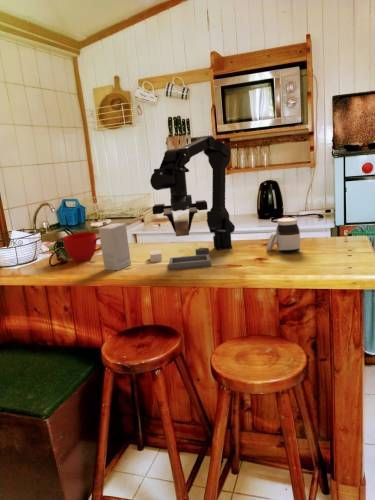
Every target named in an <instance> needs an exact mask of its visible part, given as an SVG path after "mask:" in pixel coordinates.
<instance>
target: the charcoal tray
mask: <svg viewBox="0 0 375 500" xmlns="http://www.w3.org/2000/svg"><path fill="white" fill-rule="evenodd" d="M209 256H210V253H209V254H204V255H196V254H195V255H187V256H186V255H185V256H175V257H174V256H173V257H169V259H168V261H169V263H168V265H169V271H175V270H185V269H196V268H204V267H212V263H211V261H212V260H211V257H209Z"/></svg>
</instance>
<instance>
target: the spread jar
mask: <svg viewBox="0 0 375 500" xmlns="http://www.w3.org/2000/svg"><path fill="white" fill-rule="evenodd" d="M276 222H277V226H276V228H275V229H276V232H274V231H272V233H271V234H270V236H269V238H268V241H267V243H266V251H273V249H274V246H275V243H276V248H277V252H278V253H280V254H284V255H290V254H297V253H298V252H299V251H300V250H301V233H300V232H301V231H300V227H299V226H298V219H297V218H296V217H285V218H279V219H277V221H276Z"/></svg>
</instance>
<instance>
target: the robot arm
mask: <svg viewBox="0 0 375 500" xmlns="http://www.w3.org/2000/svg"><path fill="white" fill-rule="evenodd" d="M202 152H203V154H204V155H205V156H206V157H207V158H208V164H209V166H210V167H211V169H212V186H211V187H212V194H211V195H212V197H211V199H212V200H211V203H212V206H211V208H210V210H208V202H207V201H206V200H204V199H203V200H195V202H194V203H193V200H192V194H188V188H187V187H188V186H187V177H186V173H189V172H190V169H188V168H187V167H186V165H187V164H188V163H189V162H190V160H191V158H192V157H194V156H196V155H198V154H200V153H202ZM231 155H232V151H231V149H230V147H229V146H228V145H227V144H225V142H222V141H220V140H218V139H216V138H215V137H213V136H211V135H207V136H201V137H200V138H199V139H196V140H195V141H192V142H191V143H188V144H187V145H185V146H184V145H183V147H178V148H170V149H167V150H165V152H164V155H163V158H162V161H161V163H160V165H159V168H154V169H153V173H152V174H151V176H150V180H149V182H150V185H151V188H153V190H155V191H160V190H166V189H167V190H168V189H169V192H170V193H169V194H170V199H169V201H170V205H165V203H158V204H157V203H156V204H154V205H153V206H152V207H151V208H152V215H161V214H162V216H163V217H167V219H168V221H169V222H170V224H171V226H172V229H173V232H174V233H176V231H175V217H174V212H178V211H187V210H188V229H189V232H190V231H191V227H192V222H193V218H194V216H195V214H198V211H206V223H207V227H208V229H209V230H208V231H209V232H210V233H212V234H214V235H213V236H212V237H213V238H212V242H213V247H214V248H215V250H225V249H226V250H227V249H233V245H232V234H233V233H235V229H236V226H235V225H234V223H233V222H232V221H231V219H230V214H229V213H230V212H229V211H228V209H227V208H226V171H227V170H226V169H227V167H228V165H229V164H230V161H231ZM207 210H208V211H207Z"/></svg>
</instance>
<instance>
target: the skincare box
mask: <svg viewBox="0 0 375 500" xmlns="http://www.w3.org/2000/svg"><path fill="white" fill-rule="evenodd" d="M98 234H99V237H100V239H99V241H100V247H101V248H102V249H101V254H102V259H103V267H104V270H105V271H106V270H107V271H115V270H118V271H120V270H122V269H125V268H127V267H129V266H130V264H131V265H132V260H131V254H130V246H129V237H128V231H127V223H125V222H122V223H121V222H120V223H119V222H117V223H115V222H114V223H110V224H107V225H104V226H101V227H98Z"/></svg>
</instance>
